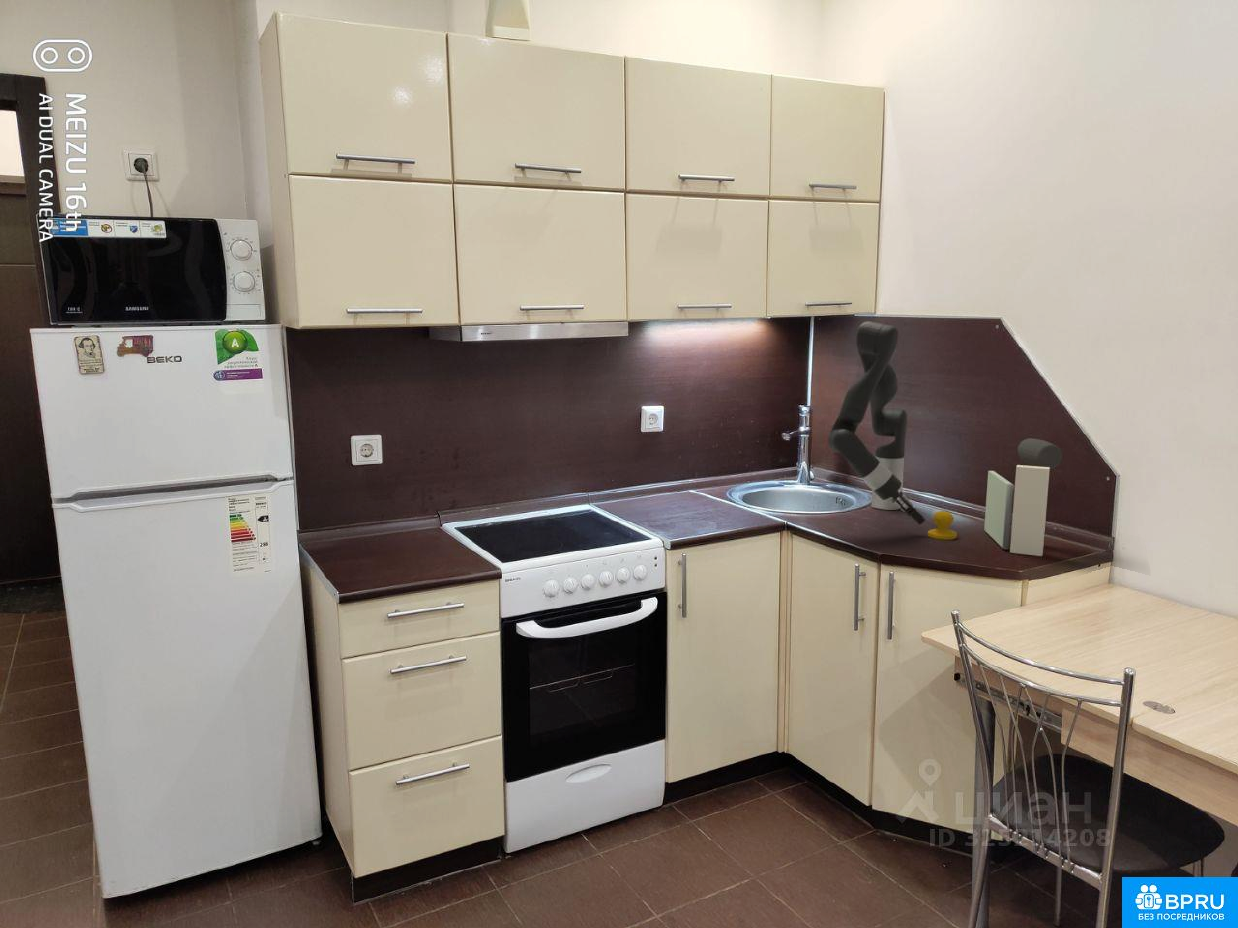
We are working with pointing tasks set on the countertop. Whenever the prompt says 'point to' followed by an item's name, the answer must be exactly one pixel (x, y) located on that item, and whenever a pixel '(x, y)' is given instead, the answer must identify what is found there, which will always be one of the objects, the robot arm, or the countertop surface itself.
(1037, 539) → the panel
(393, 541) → the countertop surface
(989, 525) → the door
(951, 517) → the doorknob
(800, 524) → the countertop surface
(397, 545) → the countertop surface
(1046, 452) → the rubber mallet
